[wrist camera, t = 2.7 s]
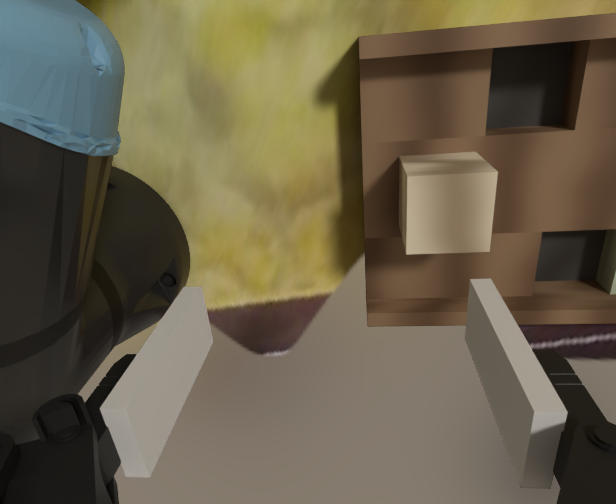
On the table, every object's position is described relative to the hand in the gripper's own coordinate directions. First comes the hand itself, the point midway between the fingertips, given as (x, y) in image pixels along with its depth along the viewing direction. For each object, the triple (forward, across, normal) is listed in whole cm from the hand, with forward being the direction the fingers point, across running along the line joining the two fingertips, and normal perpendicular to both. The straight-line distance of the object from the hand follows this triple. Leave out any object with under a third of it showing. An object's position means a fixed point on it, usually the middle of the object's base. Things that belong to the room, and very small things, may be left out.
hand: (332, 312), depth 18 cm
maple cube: (+15, +6, 0) cm, 17 cm away
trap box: (+18, +12, 0) cm, 22 cm away
